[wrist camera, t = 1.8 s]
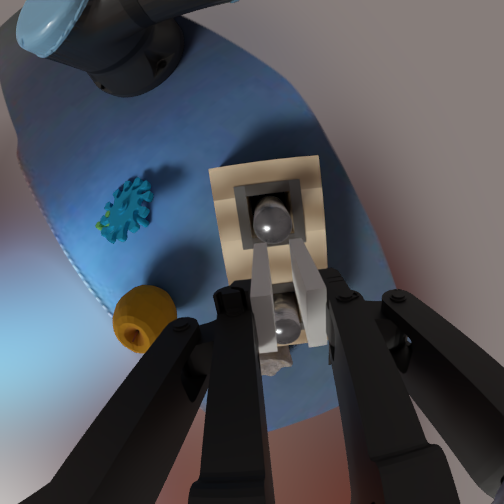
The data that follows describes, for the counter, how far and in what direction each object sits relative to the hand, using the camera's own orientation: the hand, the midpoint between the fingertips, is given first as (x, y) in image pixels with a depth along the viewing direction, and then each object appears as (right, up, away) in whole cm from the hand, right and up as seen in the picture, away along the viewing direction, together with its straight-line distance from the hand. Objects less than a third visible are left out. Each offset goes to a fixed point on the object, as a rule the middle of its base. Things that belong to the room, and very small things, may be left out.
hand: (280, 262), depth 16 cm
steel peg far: (+2, -6, +20) cm, 21 cm away
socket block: (+1, +2, +23) cm, 23 cm away
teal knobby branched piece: (-20, +8, +22) cm, 30 cm away
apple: (-17, -7, +27) cm, 33 cm away
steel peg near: (0, +6, +16) cm, 17 cm away
